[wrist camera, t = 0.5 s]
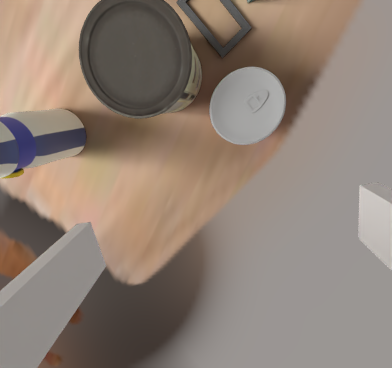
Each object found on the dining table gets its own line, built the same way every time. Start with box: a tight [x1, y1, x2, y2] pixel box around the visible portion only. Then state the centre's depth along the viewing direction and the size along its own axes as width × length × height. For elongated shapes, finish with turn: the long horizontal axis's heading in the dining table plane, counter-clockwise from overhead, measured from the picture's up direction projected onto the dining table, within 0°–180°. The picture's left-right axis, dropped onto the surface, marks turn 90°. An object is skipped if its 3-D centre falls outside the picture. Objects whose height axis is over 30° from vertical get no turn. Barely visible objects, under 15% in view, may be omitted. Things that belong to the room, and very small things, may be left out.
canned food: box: [209, 67, 286, 145], centre depth 30 cm, size 8×8×11 cm
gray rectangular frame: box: [177, 0, 252, 58], centre depth 31 cm, size 9×5×1 cm, turn 43°
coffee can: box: [79, 0, 202, 118], centre depth 28 cm, size 10×10×14 cm
